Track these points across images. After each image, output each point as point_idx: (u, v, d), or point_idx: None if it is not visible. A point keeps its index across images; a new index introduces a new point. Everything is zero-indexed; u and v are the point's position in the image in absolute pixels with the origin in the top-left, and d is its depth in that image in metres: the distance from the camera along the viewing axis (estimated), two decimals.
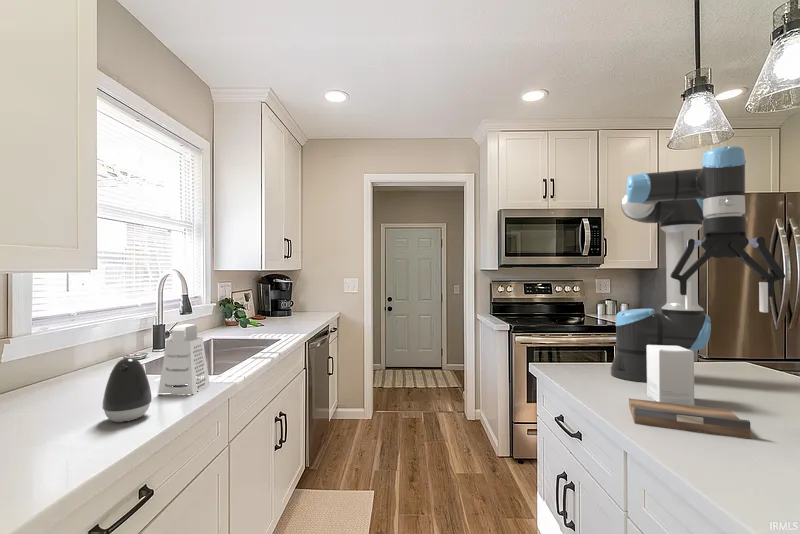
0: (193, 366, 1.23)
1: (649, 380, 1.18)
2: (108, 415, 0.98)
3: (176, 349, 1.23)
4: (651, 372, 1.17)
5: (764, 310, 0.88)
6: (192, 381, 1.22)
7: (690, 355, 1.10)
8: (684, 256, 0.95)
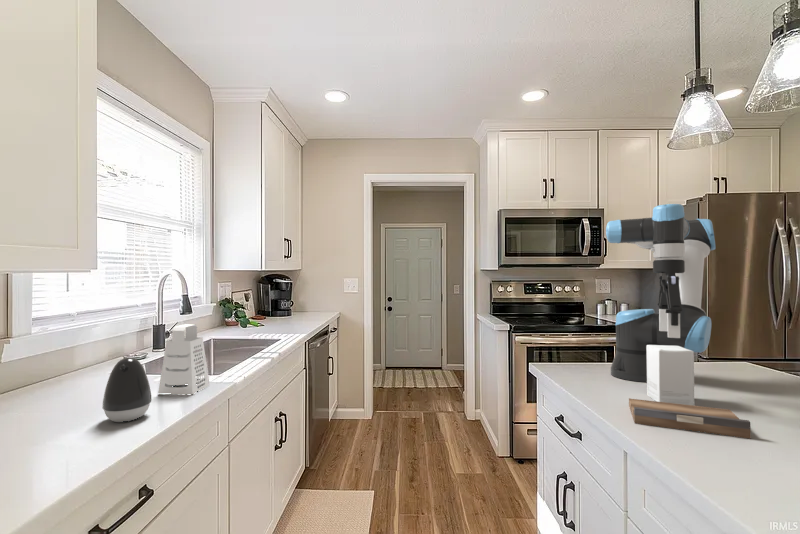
0: (193, 366, 1.23)
1: (649, 380, 1.18)
2: (108, 415, 0.98)
3: (176, 349, 1.23)
4: (651, 372, 1.17)
5: (667, 335, 1.10)
6: (192, 382, 1.22)
7: (690, 355, 1.10)
8: (659, 289, 1.23)
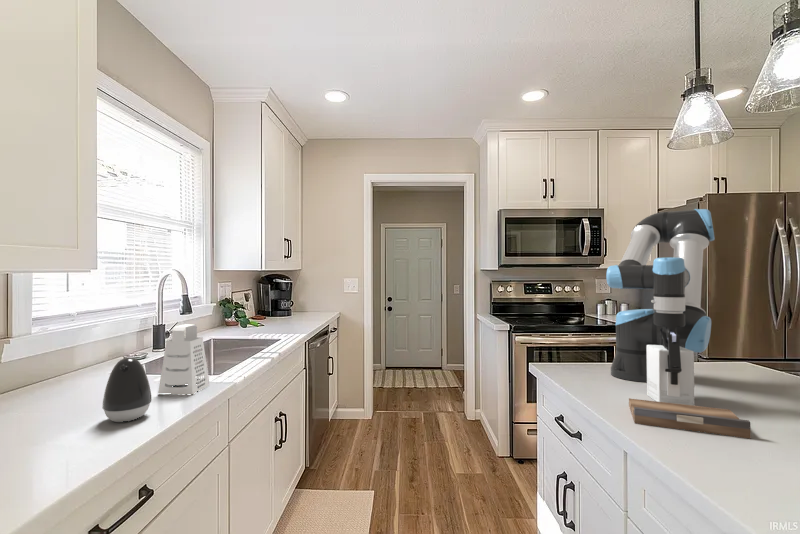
0: (193, 366, 1.23)
1: (649, 380, 1.18)
2: (108, 415, 0.98)
3: (176, 349, 1.23)
4: (651, 372, 1.17)
5: (667, 393, 1.11)
6: (192, 381, 1.22)
7: (690, 355, 1.10)
8: (660, 341, 1.22)
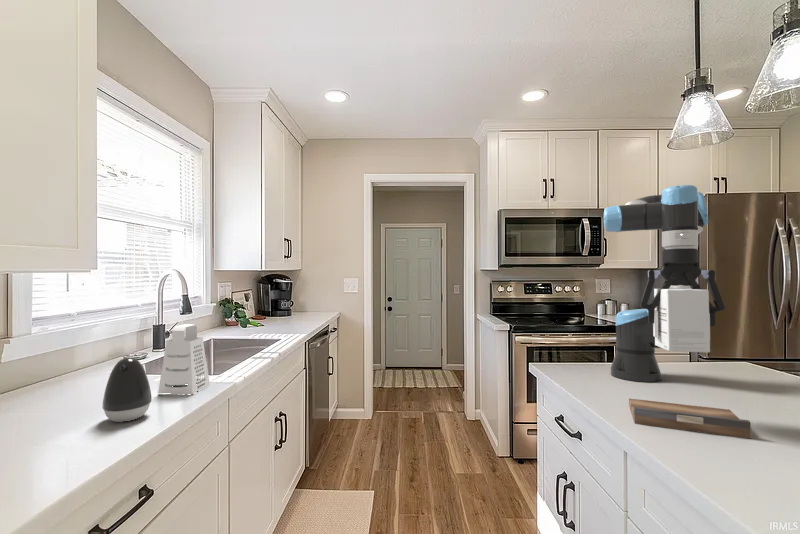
0: (193, 366, 1.23)
1: (681, 331, 0.97)
2: (108, 415, 0.98)
3: (176, 349, 1.23)
4: (685, 320, 0.97)
5: None
6: (192, 381, 1.22)
7: None
8: (648, 286, 1.03)
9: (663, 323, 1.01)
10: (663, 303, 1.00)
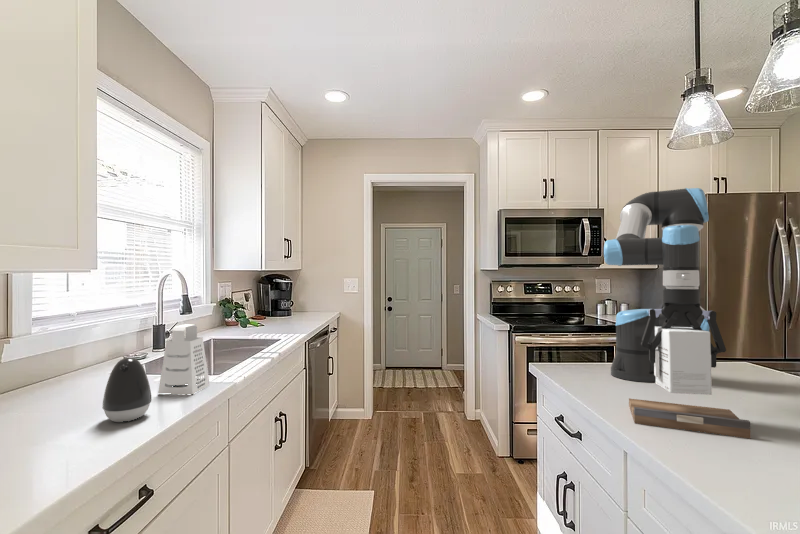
0: (193, 366, 1.23)
1: (682, 373, 0.97)
2: (108, 415, 0.98)
3: (176, 349, 1.23)
4: (687, 362, 0.96)
5: None
6: (192, 381, 1.22)
7: None
8: (649, 325, 1.03)
9: (664, 364, 1.00)
10: (664, 343, 1.00)
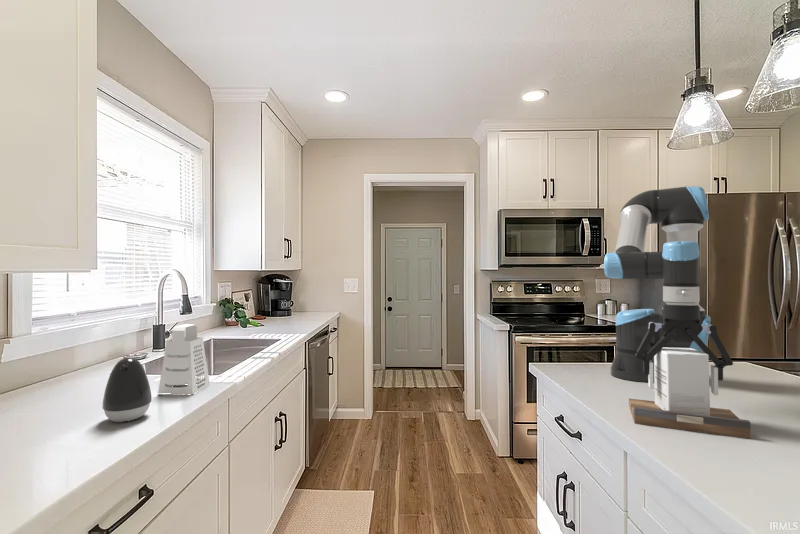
0: (193, 366, 1.23)
1: (681, 395, 0.97)
2: (108, 415, 0.98)
3: (176, 349, 1.23)
4: (685, 385, 0.97)
5: (715, 393, 0.97)
6: (192, 382, 1.22)
7: None
8: (646, 338, 1.03)
9: (663, 385, 1.00)
10: (663, 365, 1.00)
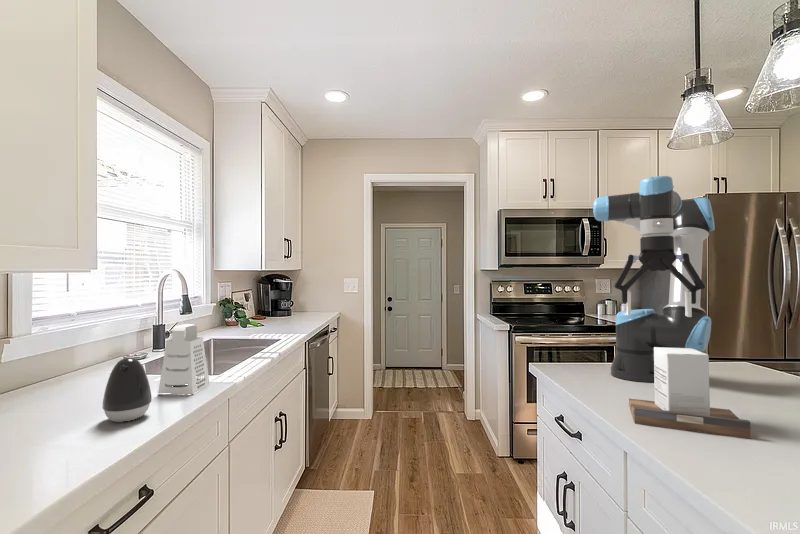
0: (193, 366, 1.23)
1: (681, 395, 0.97)
2: (108, 415, 0.98)
3: (176, 349, 1.23)
4: (685, 385, 0.97)
5: (688, 315, 1.05)
6: (192, 382, 1.22)
7: None
8: (625, 269, 1.10)
9: (663, 385, 1.00)
10: (663, 365, 1.00)
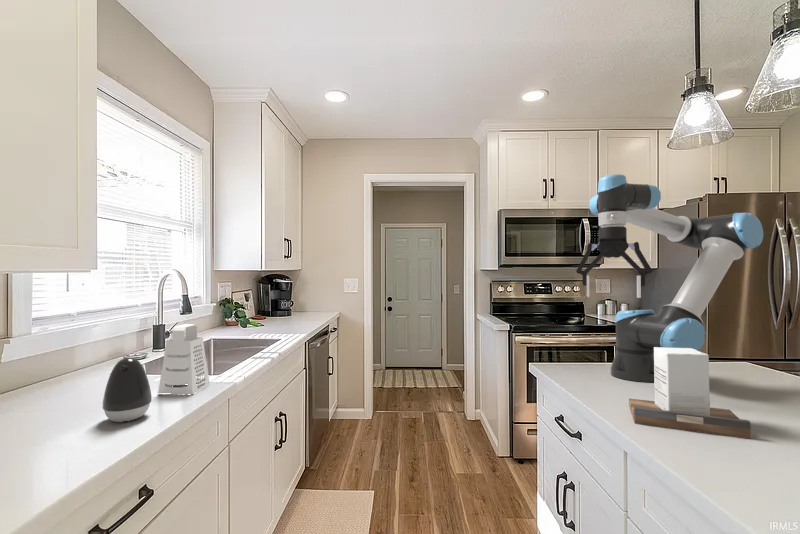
0: (193, 366, 1.23)
1: (681, 395, 0.97)
2: (108, 415, 0.98)
3: (176, 349, 1.23)
4: (685, 385, 0.97)
5: (638, 296, 1.19)
6: (192, 381, 1.22)
7: None
8: (584, 256, 1.25)
9: (663, 385, 1.00)
10: (663, 365, 1.00)
